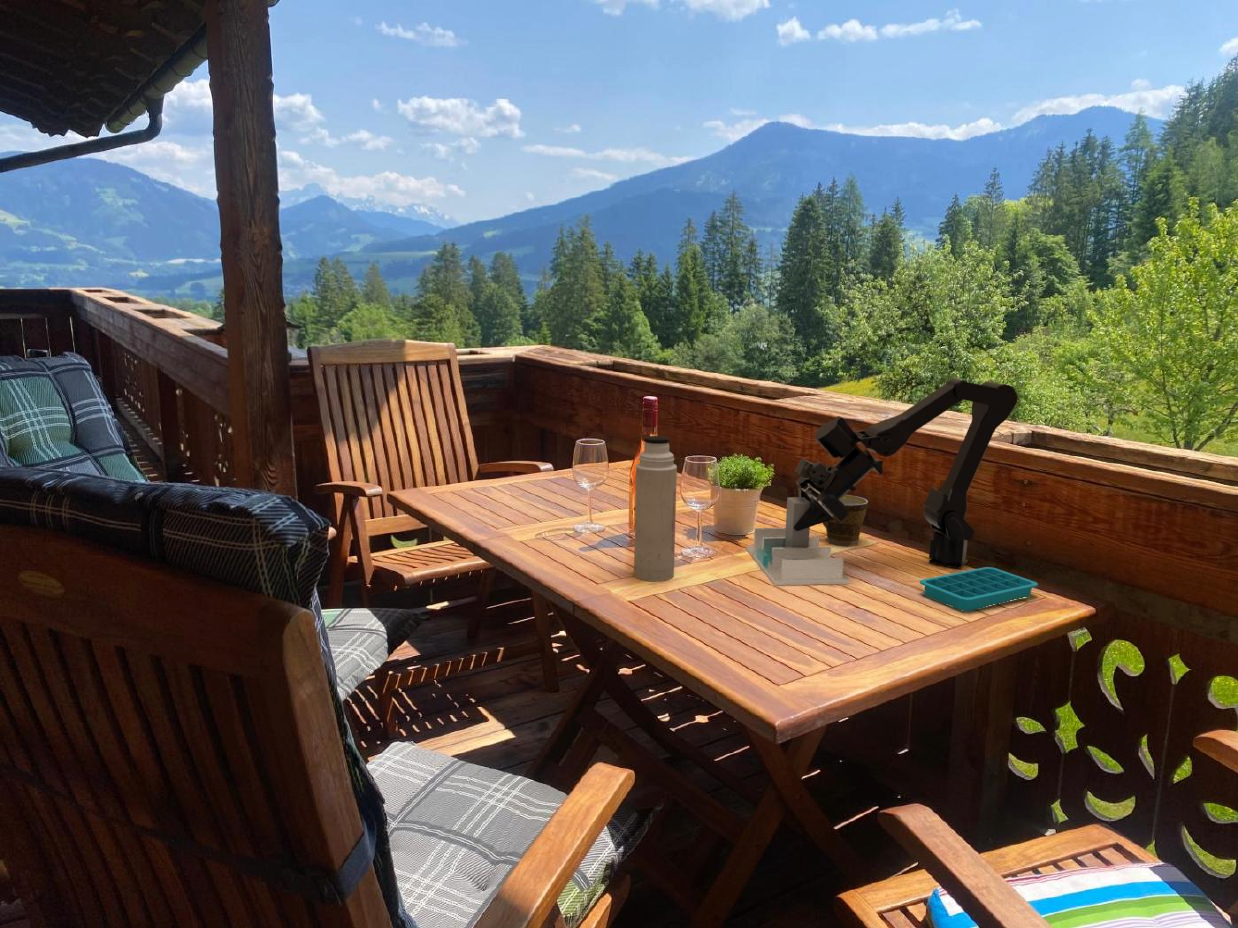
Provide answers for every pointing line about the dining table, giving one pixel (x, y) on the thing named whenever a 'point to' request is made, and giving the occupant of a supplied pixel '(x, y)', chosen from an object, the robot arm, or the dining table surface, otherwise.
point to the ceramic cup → (847, 522)
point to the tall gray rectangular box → (794, 513)
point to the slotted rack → (795, 560)
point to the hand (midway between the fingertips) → (791, 525)
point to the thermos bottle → (655, 511)
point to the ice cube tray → (977, 588)
